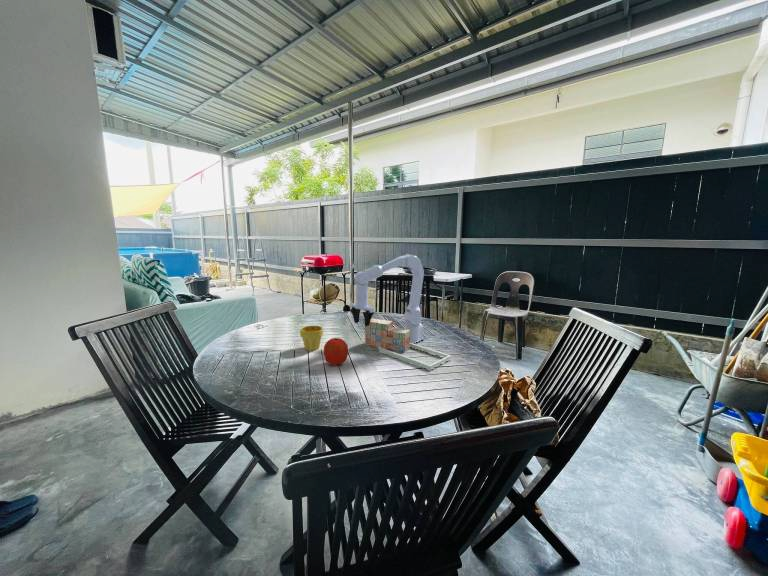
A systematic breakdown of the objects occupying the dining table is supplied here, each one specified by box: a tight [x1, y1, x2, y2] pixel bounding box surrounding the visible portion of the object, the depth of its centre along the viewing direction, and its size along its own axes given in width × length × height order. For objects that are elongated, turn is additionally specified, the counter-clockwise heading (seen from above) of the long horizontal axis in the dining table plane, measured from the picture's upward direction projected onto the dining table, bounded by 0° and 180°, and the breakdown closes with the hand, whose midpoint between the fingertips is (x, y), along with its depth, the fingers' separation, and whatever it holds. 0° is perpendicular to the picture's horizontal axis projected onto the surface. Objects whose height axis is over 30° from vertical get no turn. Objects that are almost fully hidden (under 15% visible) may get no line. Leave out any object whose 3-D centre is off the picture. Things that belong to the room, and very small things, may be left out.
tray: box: [378, 343, 452, 371], centre depth 139 cm, size 16×29×2 cm, turn 47°
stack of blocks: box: [364, 317, 410, 353], centre depth 150 cm, size 21×6×12 cm, turn 63°
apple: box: [323, 337, 349, 366], centre depth 129 cm, size 10×10×12 cm
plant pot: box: [299, 324, 324, 352], centre depth 146 cm, size 10×10×10 cm
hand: (361, 324), depth 151 cm, fingers open, 7 cm apart
